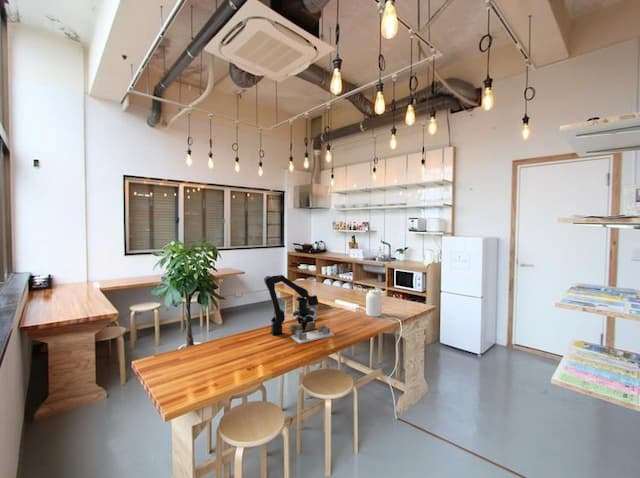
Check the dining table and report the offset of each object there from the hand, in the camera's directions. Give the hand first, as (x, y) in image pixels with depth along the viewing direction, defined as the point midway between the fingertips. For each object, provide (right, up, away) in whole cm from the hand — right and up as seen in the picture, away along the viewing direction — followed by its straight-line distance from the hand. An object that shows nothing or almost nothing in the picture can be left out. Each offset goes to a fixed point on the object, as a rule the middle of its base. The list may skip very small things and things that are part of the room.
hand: (302, 328), depth 209 cm
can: (+56, 0, +37) cm, 67 cm away
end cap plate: (+7, -2, -11) cm, 13 cm away
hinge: (+2, 0, +23) cm, 23 cm away
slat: (0, -1, 0) cm, 1 cm away
